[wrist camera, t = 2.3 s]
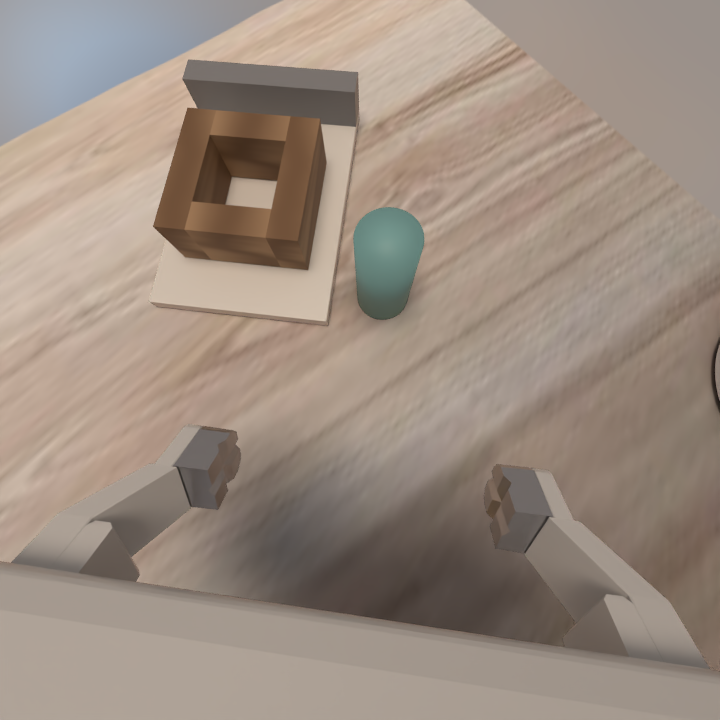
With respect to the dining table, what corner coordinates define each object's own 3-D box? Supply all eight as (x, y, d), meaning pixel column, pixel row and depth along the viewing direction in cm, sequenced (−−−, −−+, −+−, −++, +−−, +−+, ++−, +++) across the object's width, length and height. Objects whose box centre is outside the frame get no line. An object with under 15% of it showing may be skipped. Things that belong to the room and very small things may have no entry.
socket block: (326, 162, 28) (320, 118, 24) (308, 270, 26) (297, 241, 22) (212, 152, 28) (187, 107, 25) (184, 257, 26) (153, 226, 22)
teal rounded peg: (409, 275, 27) (427, 210, 19) (405, 322, 26) (421, 274, 18) (360, 270, 27) (358, 204, 19) (354, 316, 26) (349, 266, 18)
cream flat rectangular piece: (359, 118, 30) (358, 72, 26) (327, 325, 26) (320, 306, 22) (210, 106, 31) (188, 59, 27) (156, 306, 27) (120, 284, 23)
